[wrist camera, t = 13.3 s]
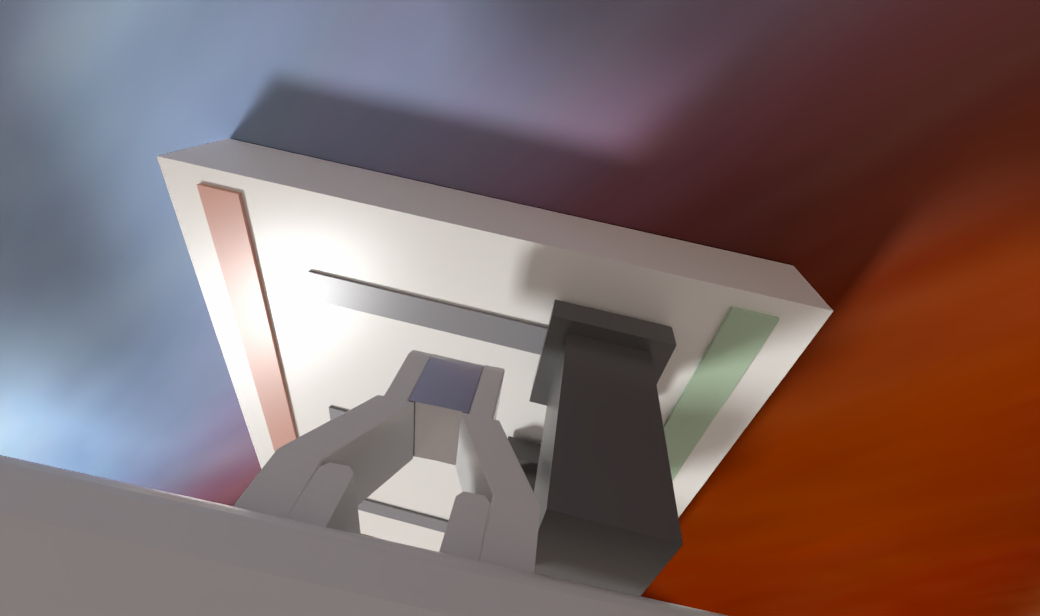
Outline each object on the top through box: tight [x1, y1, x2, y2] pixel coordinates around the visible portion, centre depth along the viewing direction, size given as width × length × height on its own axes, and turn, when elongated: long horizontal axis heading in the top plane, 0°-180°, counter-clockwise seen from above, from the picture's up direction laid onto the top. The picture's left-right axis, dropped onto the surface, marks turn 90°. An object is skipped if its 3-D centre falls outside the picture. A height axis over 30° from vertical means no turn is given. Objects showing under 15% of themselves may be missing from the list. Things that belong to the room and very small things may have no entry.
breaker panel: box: [157, 138, 833, 552], centre depth 16 cm, size 18×18×3 cm
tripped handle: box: [529, 300, 683, 596], centre depth 9 cm, size 3×3×6 cm
